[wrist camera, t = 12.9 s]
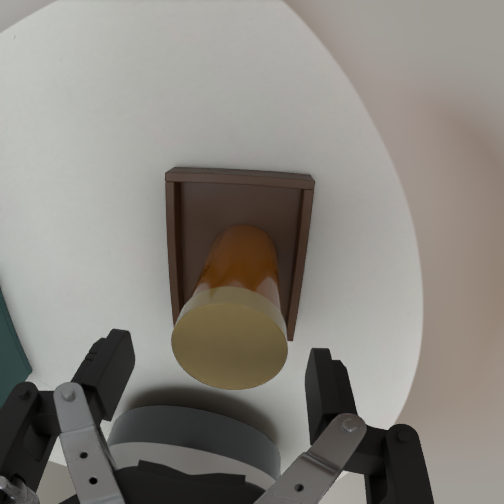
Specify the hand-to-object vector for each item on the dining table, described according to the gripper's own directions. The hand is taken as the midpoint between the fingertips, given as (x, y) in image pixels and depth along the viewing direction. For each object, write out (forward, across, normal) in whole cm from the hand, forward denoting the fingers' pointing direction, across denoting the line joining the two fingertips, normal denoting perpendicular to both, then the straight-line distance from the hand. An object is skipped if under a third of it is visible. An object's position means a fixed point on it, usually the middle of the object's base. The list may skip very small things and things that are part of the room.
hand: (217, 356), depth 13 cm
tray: (+11, 0, 0) cm, 11 cm away
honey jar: (+10, 0, 0) cm, 10 cm away
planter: (+11, +4, +24) cm, 27 cm away
